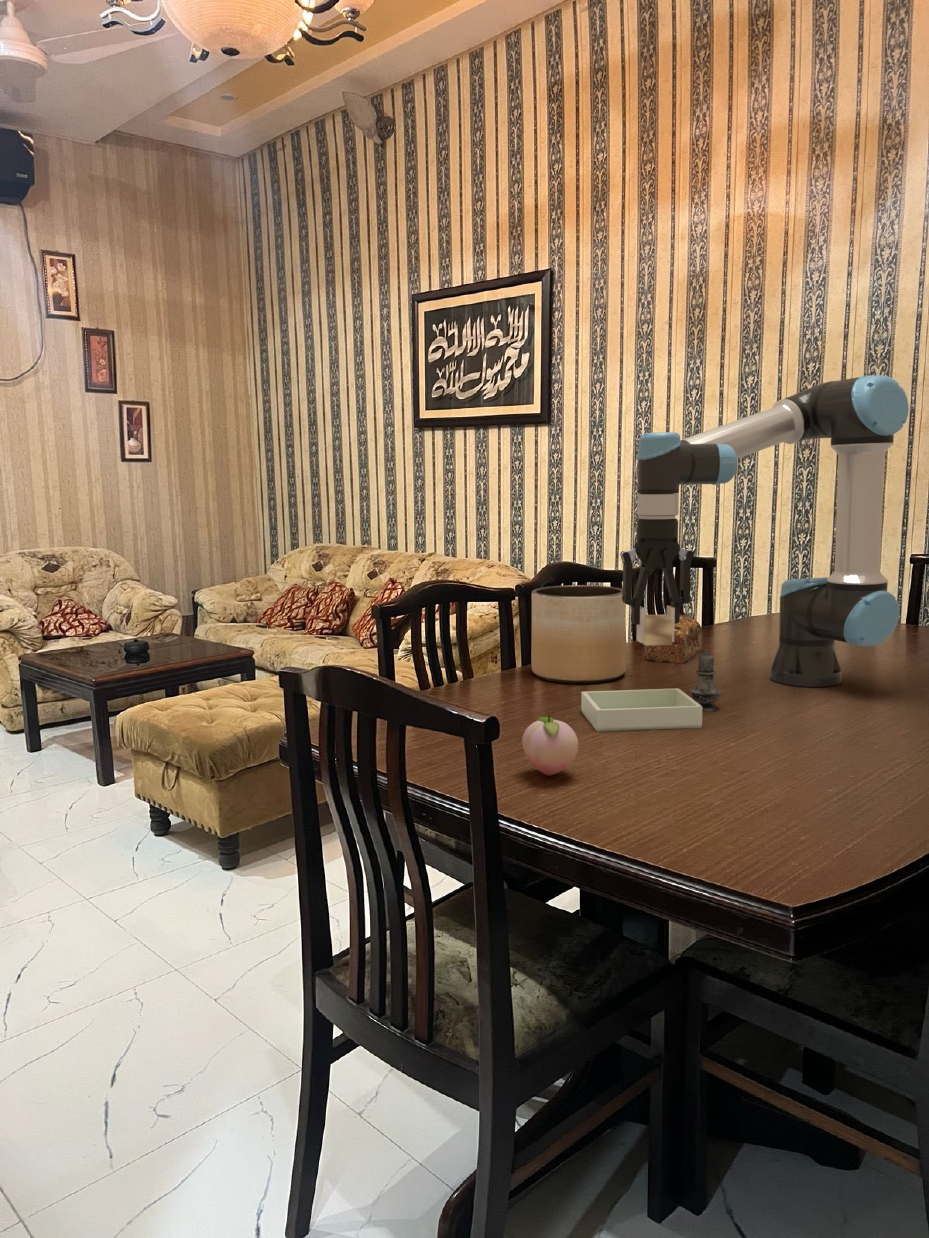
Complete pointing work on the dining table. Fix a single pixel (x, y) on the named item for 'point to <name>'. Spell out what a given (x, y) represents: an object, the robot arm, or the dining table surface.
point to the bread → (678, 643)
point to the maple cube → (658, 630)
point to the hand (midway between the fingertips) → (655, 640)
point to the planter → (578, 633)
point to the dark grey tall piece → (706, 684)
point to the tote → (640, 710)
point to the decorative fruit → (550, 745)
